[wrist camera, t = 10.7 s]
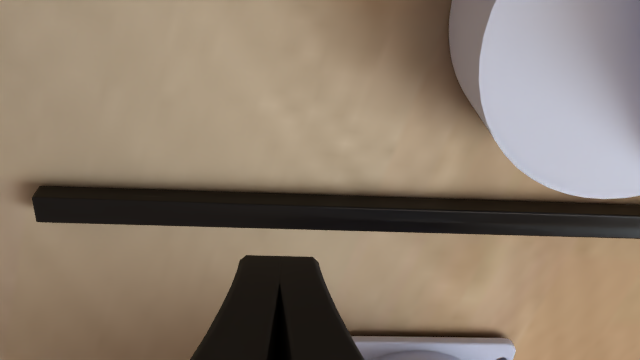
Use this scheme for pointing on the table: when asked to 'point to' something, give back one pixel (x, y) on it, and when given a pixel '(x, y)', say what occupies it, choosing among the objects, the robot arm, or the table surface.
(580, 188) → the wedge on round base
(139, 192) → the frame
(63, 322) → the table surface
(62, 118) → the table surface
